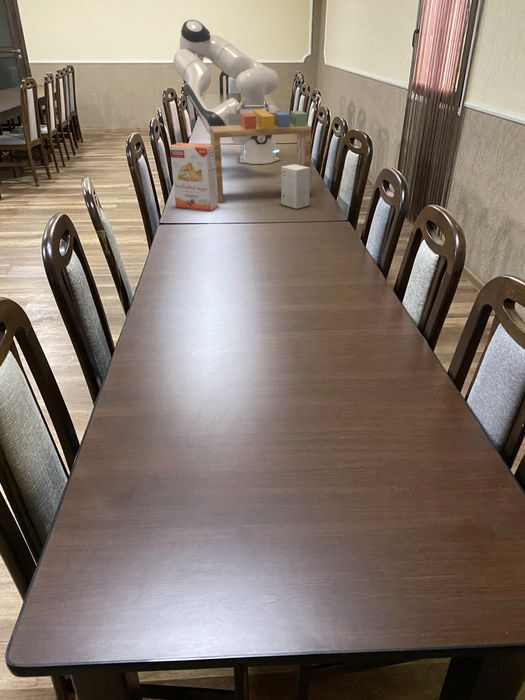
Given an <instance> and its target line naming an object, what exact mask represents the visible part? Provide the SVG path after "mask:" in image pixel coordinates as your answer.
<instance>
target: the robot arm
mask: <svg viewBox="0 0 525 700" xmlns="http://www.w3.org/2000/svg"><path fill="white" fill-rule="evenodd" d="M179 39H180V40H179V50H177V51H176V53H175V54H174V57H173V61H172V62H173V66H174V68H175V70H176V71H177V74H179V76H180V77H181V78H182V80H183V81H184V82H185V83H186V86H185V92H186V95H187V98H188V100H189V102H190V103H191V105H192V107H193V108H194V110H195V112H196V113H197V115H198V117H199V119H200V120H201V122H202V124H203V127H204V129H205V130H206V132H207V133H208V134H209V135H210V126H231V125H241V114H244V113H252V110H253V109H264V110H265V111H267V112H269V113H270V114H272V115H273V116H274V112H277V108H276V105H274V104H269V101H268V100H267V99H266V95H270V94H271V93H274V92H275V91H276V90H277V89H278V87H279V83H280V78H279V77H280V76H279V75H278V73H277V71H276V70H274V69H273V68H270V67H268V66H266V65H264V64H263V63H261V62H259V61H257V60H255V59H253V58H251V57H250V56H248V55H246V54H244V53H243V52H242V51H241V50H239V49H238V48H237V47H236V46H234V44H232V43H231V42H229V41H228V40H226V39H224V38H222V37H221V36H218V35H216V34H211V32H210V30H209V29H208V28H206V26H205V25H204V24H203V23H202V22H200V21H199V20H195V19H189V20H186V21H185V22H184V23H183V25H182V27H181V30H180V38H179ZM204 58H205V59H208V60H209V61H210V62H211V63H212V64H213V65H215V67H217V68H218V69H219V70H221V71H222V72H223V73H224V74H225V75H227V76H228V77H229V78H230V79H232V80H235V89H236V91H237V93H238V94H239V95H240V96H241V98H242V100H240V99H238V98H236V97H230V98H229V99H226V100H225V101H223V102H222V103H220V104H219V105H216V106H215V107H213V108H208V106H207V104H206V103H205V102H204V100H203V98H202V97H203V95H204V94H205V93H206V91H207V90H208V89H209V87H210V85H211V81H212V73H211V70H210V69H209V67H208V66H207V64H206V63H205V62H204ZM272 137H273V135H261V136H242V137H230V139H231V141H232V143H233V144H235V145H238V146H240V152H242V154H240V157H239V163H241V164H250V165H265V164H272V163H274V162H277V161H280V158H279V157H278V156H277V153H279V152H280V149H276V142H275V141H274V140H273V139H272Z"/></svg>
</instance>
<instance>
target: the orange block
mask: <svg viewBox="0 0 525 700" xmlns="http://www.w3.org/2000/svg"><path fill="white" fill-rule="evenodd" d="M252 114H254V115H255V116H256V124H257V125H258V126H260V127H261V128H262V129H274V116H273V115H272V114H270V113H269V112H267V111H265V110H264V109H253V110H252Z"/></svg>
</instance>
